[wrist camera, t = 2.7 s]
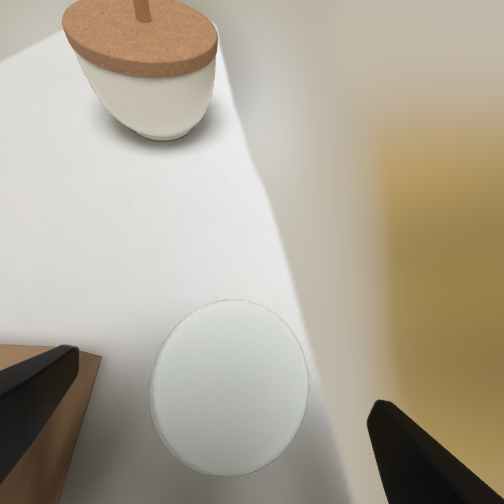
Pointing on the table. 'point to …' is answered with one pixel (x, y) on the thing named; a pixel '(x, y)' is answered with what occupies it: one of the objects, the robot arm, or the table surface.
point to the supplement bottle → (229, 388)
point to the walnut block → (48, 435)
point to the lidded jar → (146, 61)
